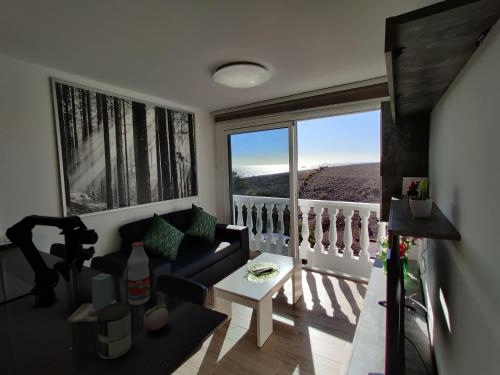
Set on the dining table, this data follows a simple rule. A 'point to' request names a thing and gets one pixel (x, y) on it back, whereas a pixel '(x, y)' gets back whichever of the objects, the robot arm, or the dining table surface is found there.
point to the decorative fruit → (156, 317)
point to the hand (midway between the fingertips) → (74, 277)
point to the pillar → (101, 291)
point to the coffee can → (114, 330)
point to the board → (85, 313)
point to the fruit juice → (138, 275)
